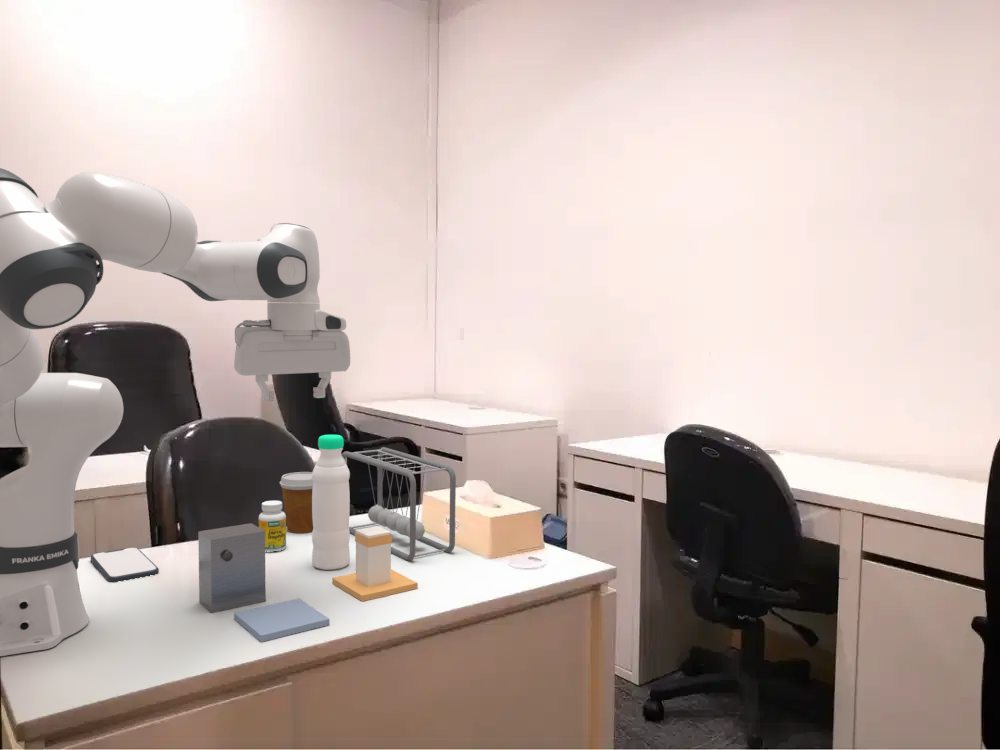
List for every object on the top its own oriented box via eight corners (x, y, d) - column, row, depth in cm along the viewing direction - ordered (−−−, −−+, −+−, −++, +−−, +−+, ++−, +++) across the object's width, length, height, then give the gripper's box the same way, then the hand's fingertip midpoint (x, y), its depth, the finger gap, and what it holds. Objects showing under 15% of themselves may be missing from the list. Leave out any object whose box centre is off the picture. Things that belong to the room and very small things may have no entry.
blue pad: (261, 642, 121) (261, 635, 121) (234, 618, 129) (234, 612, 129) (329, 625, 128) (329, 618, 128) (299, 604, 136) (299, 598, 136)
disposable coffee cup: (284, 537, 174) (283, 482, 173) (276, 526, 183) (275, 473, 182) (328, 532, 178) (328, 478, 177) (318, 522, 187) (318, 470, 186)
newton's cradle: (455, 554, 165) (456, 467, 163) (411, 564, 158) (412, 473, 157) (380, 521, 188) (381, 445, 187) (339, 529, 182) (339, 450, 180)
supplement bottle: (278, 543, 170) (277, 498, 169) (291, 549, 166) (291, 503, 165) (253, 548, 166) (253, 502, 165) (266, 554, 162) (266, 507, 161)
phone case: (161, 577, 150) (137, 554, 163) (161, 569, 150) (137, 546, 162) (109, 587, 145) (88, 562, 157) (108, 578, 144) (88, 553, 157)
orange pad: (362, 601, 138) (362, 595, 138) (332, 583, 146) (332, 577, 146) (417, 588, 145) (417, 582, 145) (385, 571, 153) (385, 566, 153)
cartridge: (367, 587, 142) (368, 536, 141) (354, 579, 146) (355, 530, 145) (391, 581, 145) (391, 531, 144) (378, 574, 149) (378, 526, 148)
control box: (213, 614, 131) (211, 540, 130) (198, 601, 137) (197, 530, 136) (267, 602, 137) (266, 531, 136) (251, 590, 142) (250, 522, 141)
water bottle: (354, 560, 160) (354, 433, 158) (343, 571, 153) (343, 439, 151) (318, 558, 160) (318, 432, 158) (306, 570, 154) (306, 438, 151)
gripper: (241, 320, 133) (242, 405, 134) (354, 320, 145) (354, 397, 147) (227, 319, 138) (228, 401, 139) (338, 319, 150) (338, 394, 152)
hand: (294, 399), depth 143 cm, fingers open, 8 cm apart
